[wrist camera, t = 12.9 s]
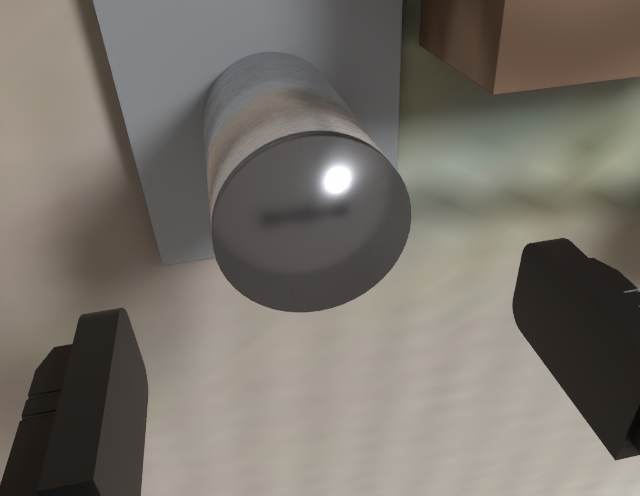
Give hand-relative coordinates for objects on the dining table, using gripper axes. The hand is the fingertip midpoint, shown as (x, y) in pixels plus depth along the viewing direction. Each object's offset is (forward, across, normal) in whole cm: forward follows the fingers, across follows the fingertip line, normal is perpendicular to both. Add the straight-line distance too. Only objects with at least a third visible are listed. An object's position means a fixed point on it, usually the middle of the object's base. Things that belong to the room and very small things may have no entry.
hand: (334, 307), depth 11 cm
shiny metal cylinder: (+11, 0, 0) cm, 11 cm away
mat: (+12, 0, 0) cm, 12 cm away
